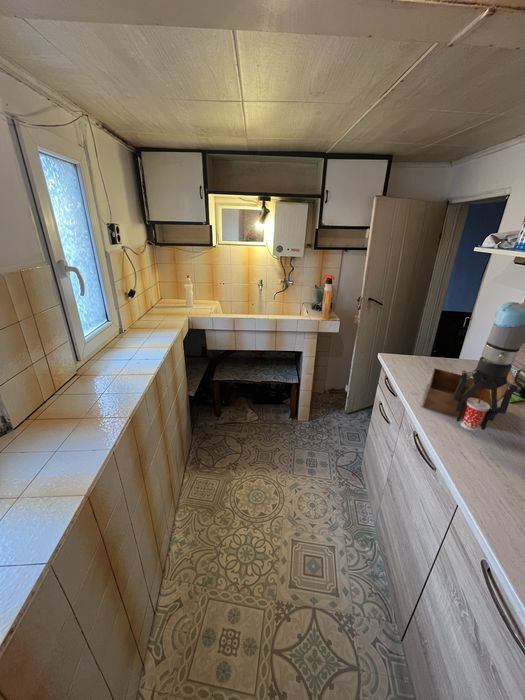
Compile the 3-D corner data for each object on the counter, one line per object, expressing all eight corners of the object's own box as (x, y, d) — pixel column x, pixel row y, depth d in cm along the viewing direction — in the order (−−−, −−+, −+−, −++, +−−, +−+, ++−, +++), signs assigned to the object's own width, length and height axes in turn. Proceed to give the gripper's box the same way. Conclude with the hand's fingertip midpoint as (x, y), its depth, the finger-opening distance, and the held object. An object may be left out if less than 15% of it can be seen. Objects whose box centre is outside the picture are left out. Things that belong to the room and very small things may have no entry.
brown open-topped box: (481, 400, 113) (488, 382, 109) (482, 426, 98) (491, 406, 94) (428, 385, 122) (434, 368, 119) (423, 406, 107) (429, 388, 104)
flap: (489, 380, 109) (490, 381, 109) (492, 404, 94) (493, 405, 94) (508, 363, 104) (509, 363, 104) (514, 385, 89) (516, 386, 89)
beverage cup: (469, 433, 89) (484, 396, 83) (453, 421, 94) (467, 385, 88) (485, 431, 90) (501, 394, 84) (468, 419, 95) (483, 383, 90)
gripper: (457, 355, 84) (435, 418, 94) (542, 374, 74) (508, 442, 84) (458, 347, 90) (437, 407, 99) (537, 364, 80) (505, 428, 90)
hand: (470, 423), depth 92 cm, fingers closed on beverage cup, 6 cm apart
